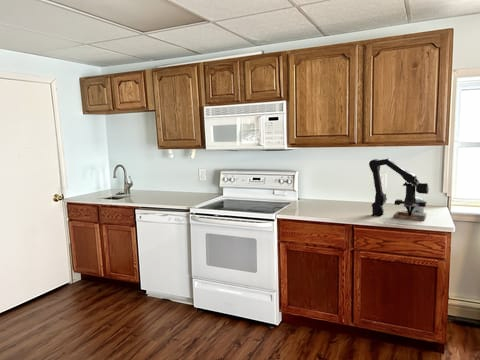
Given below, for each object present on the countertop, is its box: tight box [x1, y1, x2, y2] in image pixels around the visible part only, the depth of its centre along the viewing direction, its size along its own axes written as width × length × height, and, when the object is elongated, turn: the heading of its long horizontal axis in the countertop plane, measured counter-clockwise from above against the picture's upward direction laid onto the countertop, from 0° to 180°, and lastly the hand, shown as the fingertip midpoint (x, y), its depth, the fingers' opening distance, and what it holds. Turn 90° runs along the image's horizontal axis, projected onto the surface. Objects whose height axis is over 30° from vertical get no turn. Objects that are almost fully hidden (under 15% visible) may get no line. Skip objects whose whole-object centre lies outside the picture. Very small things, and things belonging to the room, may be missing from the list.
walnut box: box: [392, 211, 425, 222], centre depth 241 cm, size 18×12×3 cm, turn 55°
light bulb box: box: [410, 196, 425, 213], centre depth 255 cm, size 11×7×11 cm, turn 170°
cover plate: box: [411, 212, 427, 221], centre depth 238 cm, size 8×8×3 cm
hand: (409, 215), depth 241 cm, fingers closed
